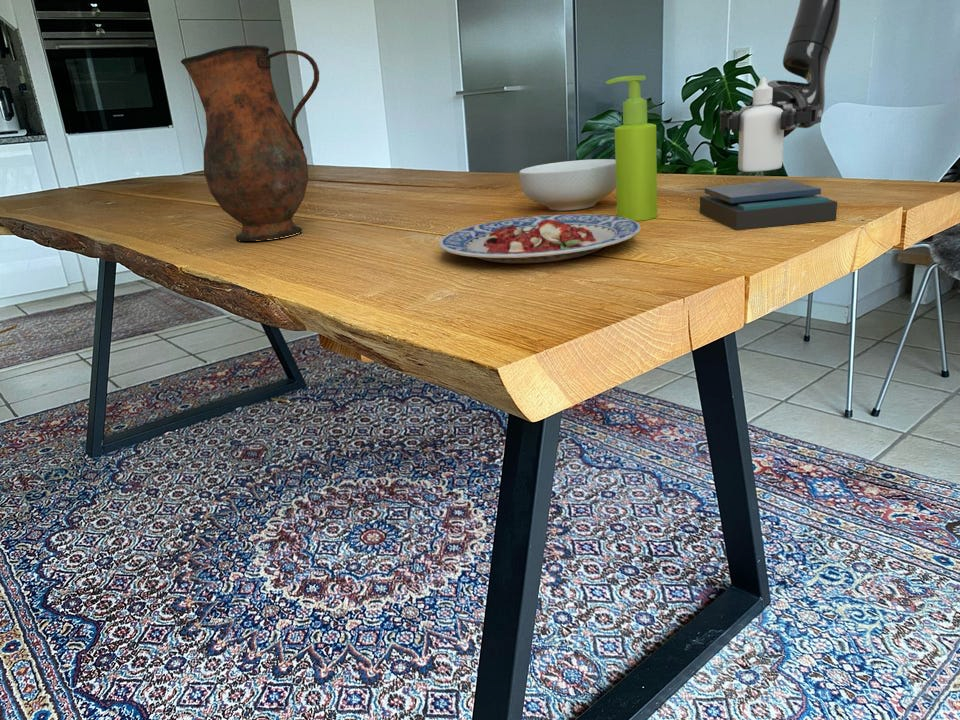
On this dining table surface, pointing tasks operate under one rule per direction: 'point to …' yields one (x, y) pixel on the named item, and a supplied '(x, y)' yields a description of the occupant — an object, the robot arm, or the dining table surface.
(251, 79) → the pitcher
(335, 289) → the dining table surface
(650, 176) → the soap dispenser
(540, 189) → the cereal bowl
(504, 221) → the ceramic plate
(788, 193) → the scale plate
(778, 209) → the scale
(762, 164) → the eye dropper bottle
